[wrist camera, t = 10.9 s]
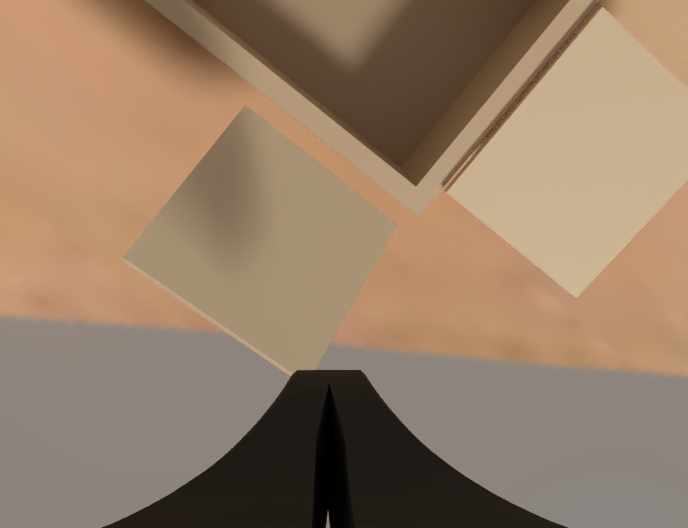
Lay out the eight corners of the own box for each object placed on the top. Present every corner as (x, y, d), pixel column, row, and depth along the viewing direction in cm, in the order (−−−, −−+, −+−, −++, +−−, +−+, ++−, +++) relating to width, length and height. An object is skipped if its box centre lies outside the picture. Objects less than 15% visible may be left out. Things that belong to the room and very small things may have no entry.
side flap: (123, 257, 14) (121, 260, 14) (307, 383, 15) (302, 384, 15) (245, 105, 16) (242, 110, 16) (397, 223, 17) (392, 227, 17)
